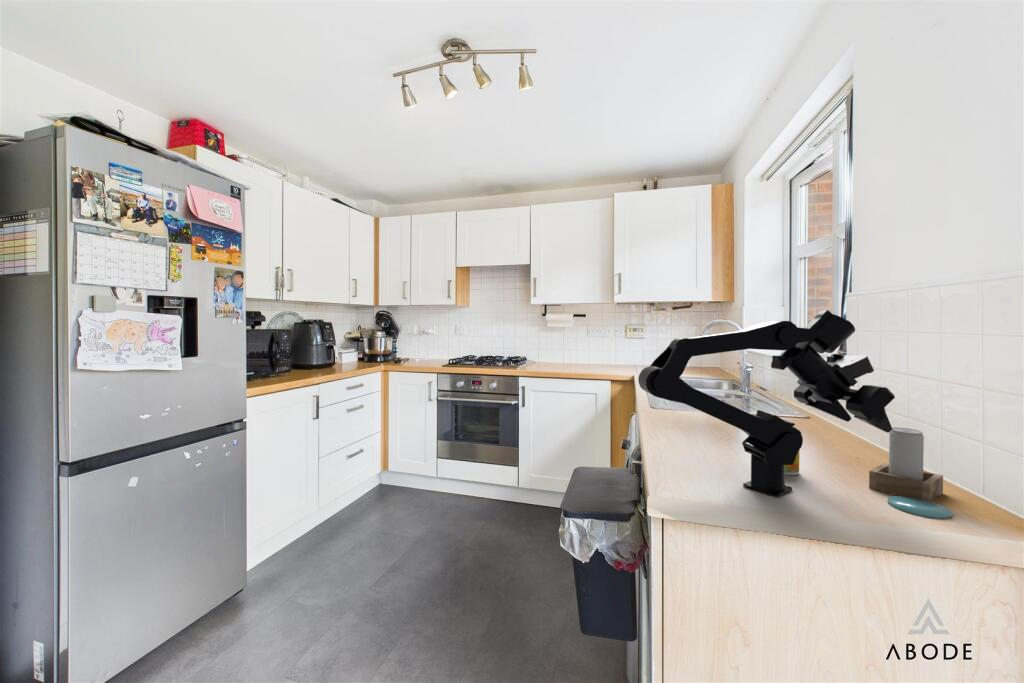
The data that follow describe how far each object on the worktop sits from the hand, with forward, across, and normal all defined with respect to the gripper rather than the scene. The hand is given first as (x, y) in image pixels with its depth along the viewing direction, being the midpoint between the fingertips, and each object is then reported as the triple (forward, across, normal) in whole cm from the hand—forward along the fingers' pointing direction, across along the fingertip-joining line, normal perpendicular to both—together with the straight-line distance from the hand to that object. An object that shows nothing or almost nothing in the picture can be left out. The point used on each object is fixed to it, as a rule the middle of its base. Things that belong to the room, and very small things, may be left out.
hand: (868, 425), depth 78 cm
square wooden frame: (+14, 0, +4) cm, 15 cm away
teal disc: (+11, -8, +8) cm, 15 cm away
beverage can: (+14, 0, +4) cm, 15 cm away
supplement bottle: (+3, +10, +16) cm, 19 cm away
